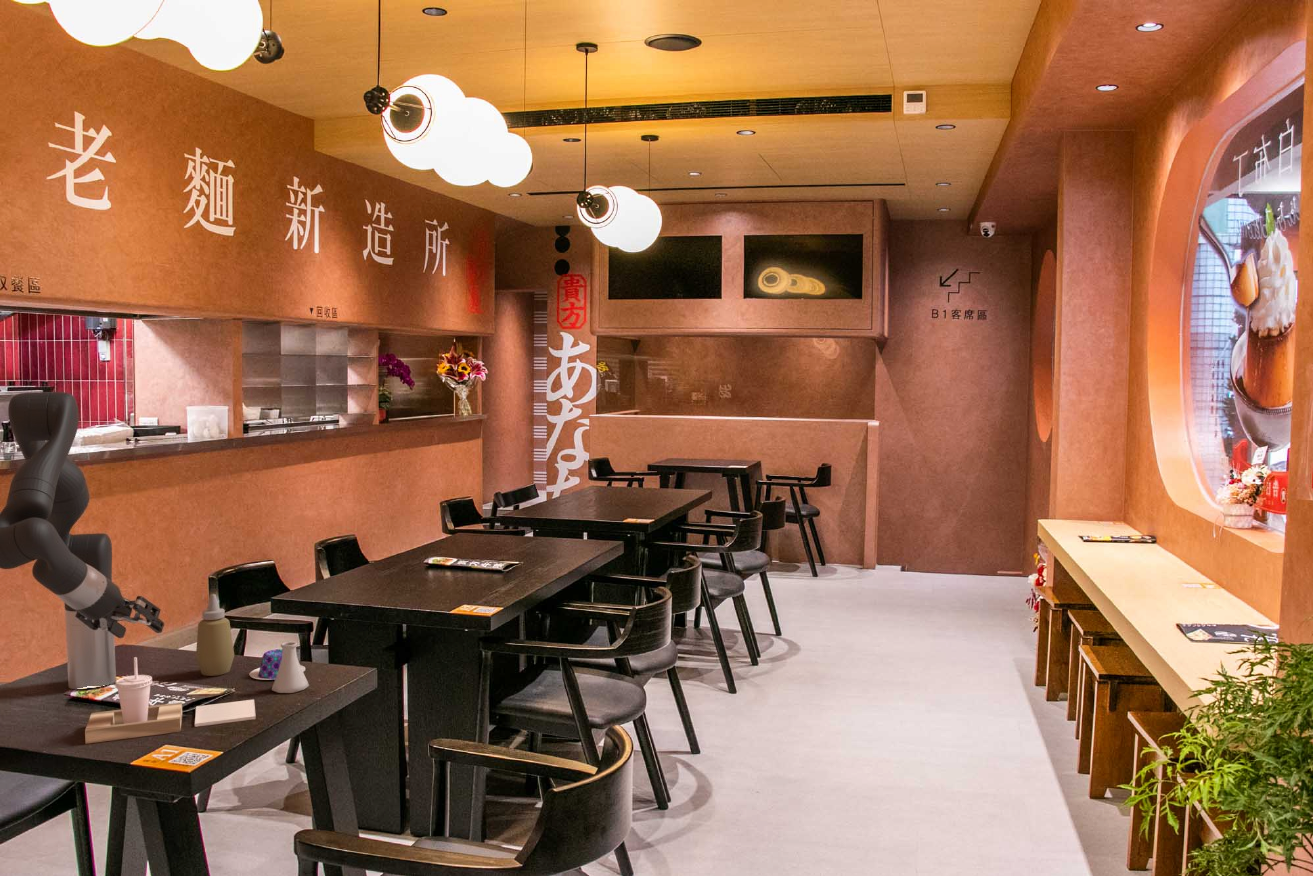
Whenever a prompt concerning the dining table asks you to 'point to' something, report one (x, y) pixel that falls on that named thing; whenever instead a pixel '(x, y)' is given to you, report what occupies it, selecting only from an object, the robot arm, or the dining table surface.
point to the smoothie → (134, 696)
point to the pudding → (269, 665)
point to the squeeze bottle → (214, 641)
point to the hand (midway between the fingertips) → (142, 631)
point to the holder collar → (133, 724)
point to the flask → (289, 671)
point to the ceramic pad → (225, 713)
